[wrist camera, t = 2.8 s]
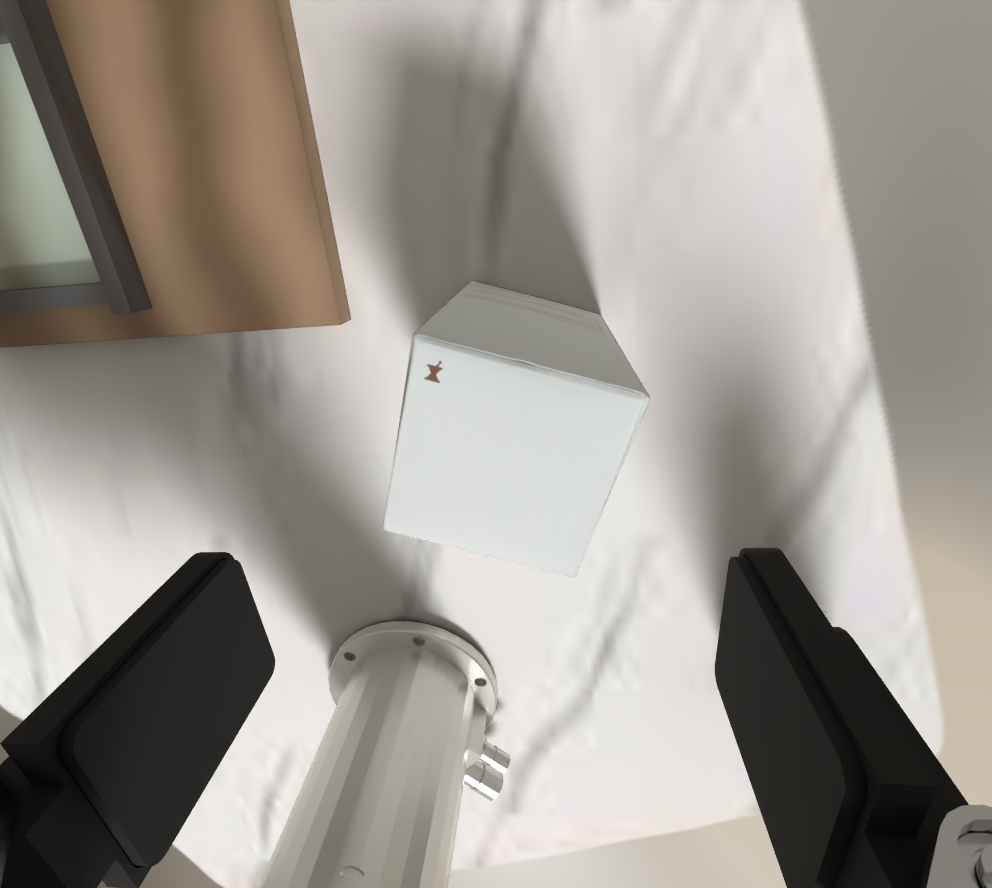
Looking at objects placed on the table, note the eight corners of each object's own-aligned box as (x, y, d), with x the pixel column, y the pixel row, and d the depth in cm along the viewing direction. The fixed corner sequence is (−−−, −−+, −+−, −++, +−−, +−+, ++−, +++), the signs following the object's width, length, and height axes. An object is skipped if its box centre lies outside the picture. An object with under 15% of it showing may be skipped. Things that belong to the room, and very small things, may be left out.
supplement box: (441, 407, 29) (371, 532, 18) (470, 276, 26) (408, 324, 14) (565, 441, 29) (576, 587, 18) (608, 314, 26) (656, 393, 15)
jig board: (274, -72, 21) (234, -115, 18) (351, 319, 27) (329, 330, 25) (-171, 2, 24) (-265, -26, 21) (-5, 343, 30) (-61, 356, 27)
